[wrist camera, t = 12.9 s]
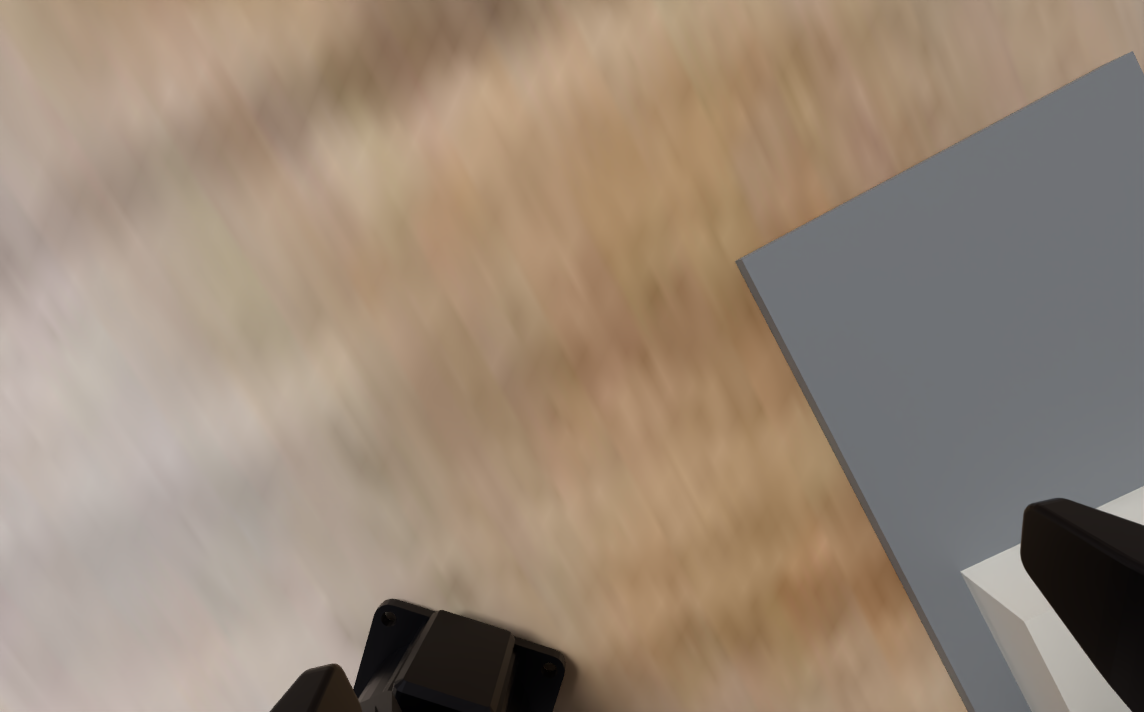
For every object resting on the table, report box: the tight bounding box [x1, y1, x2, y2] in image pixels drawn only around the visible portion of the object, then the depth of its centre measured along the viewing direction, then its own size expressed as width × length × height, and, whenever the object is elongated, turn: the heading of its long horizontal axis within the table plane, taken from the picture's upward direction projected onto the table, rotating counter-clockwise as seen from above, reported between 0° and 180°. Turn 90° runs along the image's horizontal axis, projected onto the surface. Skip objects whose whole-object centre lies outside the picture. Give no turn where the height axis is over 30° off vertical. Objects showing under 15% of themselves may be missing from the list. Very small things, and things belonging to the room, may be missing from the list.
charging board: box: [735, 51, 1144, 712], centre depth 19 cm, size 22×12×1 cm, turn 28°
